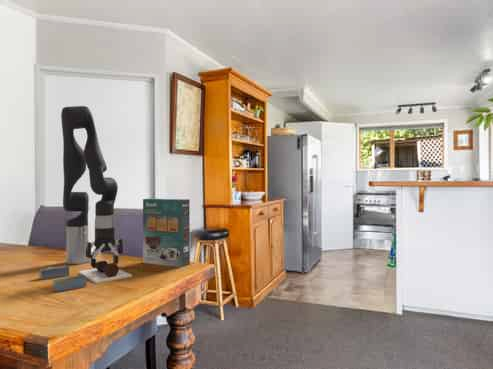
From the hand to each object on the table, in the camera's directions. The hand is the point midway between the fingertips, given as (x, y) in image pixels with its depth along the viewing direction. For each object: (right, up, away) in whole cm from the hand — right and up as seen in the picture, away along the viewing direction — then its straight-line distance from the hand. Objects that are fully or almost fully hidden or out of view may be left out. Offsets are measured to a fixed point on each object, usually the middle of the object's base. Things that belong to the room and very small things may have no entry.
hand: (104, 266), depth 145 cm
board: (0, -4, 0) cm, 4 cm away
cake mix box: (+20, -4, +21) cm, 29 cm away
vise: (-14, -4, -8) cm, 17 cm away
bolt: (0, -3, 0) cm, 3 cm away
